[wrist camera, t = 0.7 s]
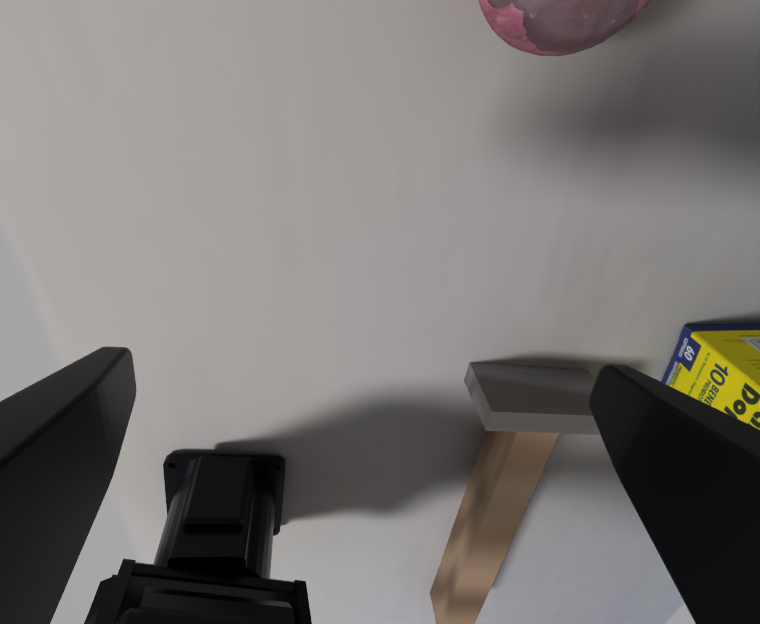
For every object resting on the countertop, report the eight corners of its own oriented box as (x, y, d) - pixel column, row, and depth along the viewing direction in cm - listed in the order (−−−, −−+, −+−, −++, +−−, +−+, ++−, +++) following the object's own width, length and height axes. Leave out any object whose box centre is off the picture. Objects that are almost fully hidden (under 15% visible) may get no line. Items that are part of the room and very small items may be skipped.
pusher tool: (488, 590, 38) (505, 646, 35) (400, 592, 37) (409, 650, 33) (586, 368, 28) (625, 417, 24) (468, 361, 26) (492, 411, 23)
